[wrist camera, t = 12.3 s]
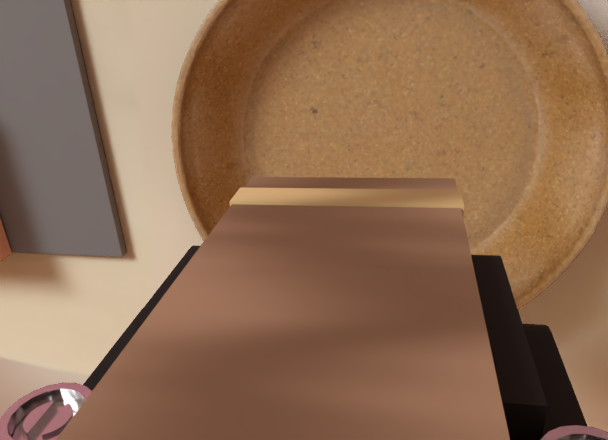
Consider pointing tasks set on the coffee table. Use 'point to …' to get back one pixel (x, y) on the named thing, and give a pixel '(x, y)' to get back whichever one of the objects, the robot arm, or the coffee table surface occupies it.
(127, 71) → the coffee table surface
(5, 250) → the tile
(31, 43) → the mat
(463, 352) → the block
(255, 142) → the plant saucer
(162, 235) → the coffee table surface
